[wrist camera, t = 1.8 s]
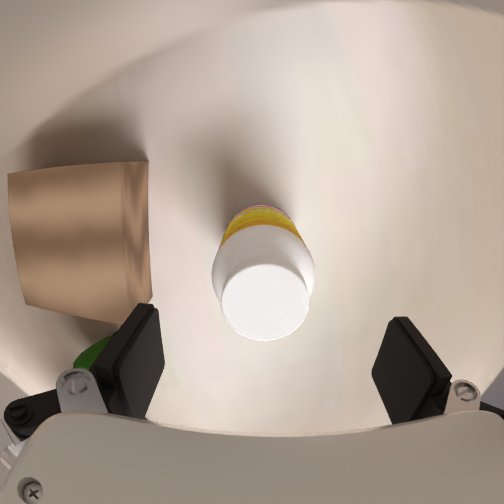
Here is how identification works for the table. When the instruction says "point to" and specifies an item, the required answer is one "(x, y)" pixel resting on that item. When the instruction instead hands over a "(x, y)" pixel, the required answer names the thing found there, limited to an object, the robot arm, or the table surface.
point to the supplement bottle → (263, 274)
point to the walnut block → (83, 238)
